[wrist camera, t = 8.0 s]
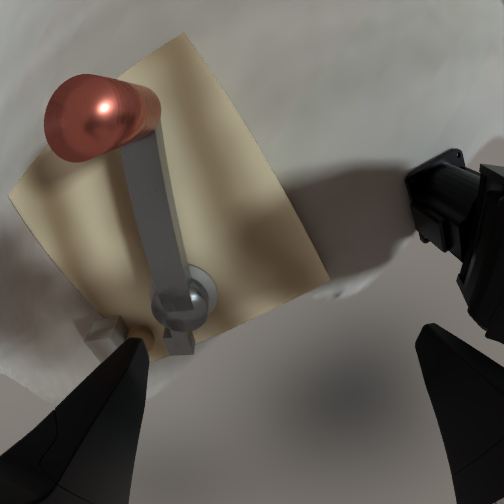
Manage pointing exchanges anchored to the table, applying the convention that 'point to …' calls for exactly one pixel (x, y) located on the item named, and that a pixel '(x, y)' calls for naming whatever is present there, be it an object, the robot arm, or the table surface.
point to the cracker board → (188, 211)
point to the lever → (134, 186)
